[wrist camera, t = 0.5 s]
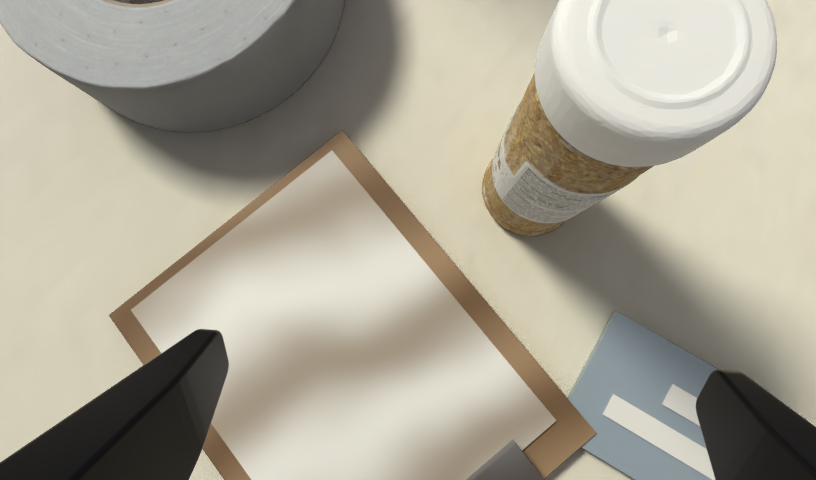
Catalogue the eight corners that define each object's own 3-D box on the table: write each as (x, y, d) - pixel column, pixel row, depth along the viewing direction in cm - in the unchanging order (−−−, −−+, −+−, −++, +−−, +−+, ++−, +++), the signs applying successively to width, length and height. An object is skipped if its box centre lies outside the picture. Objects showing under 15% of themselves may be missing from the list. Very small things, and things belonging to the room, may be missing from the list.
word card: (798, 416, 21) (807, 419, 20) (738, 542, 20) (746, 548, 20) (613, 311, 22) (618, 311, 21) (551, 427, 21) (554, 430, 21)
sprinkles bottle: (506, 130, 23) (613, -107, 10) (592, 171, 23) (825, -18, 9) (463, 211, 23) (515, 78, 9) (550, 255, 22) (734, 180, 9)
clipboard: (592, 430, 21) (603, 438, 20) (347, 644, 20) (341, 666, 19) (343, 134, 23) (339, 123, 22) (115, 315, 23) (97, 315, 21)
